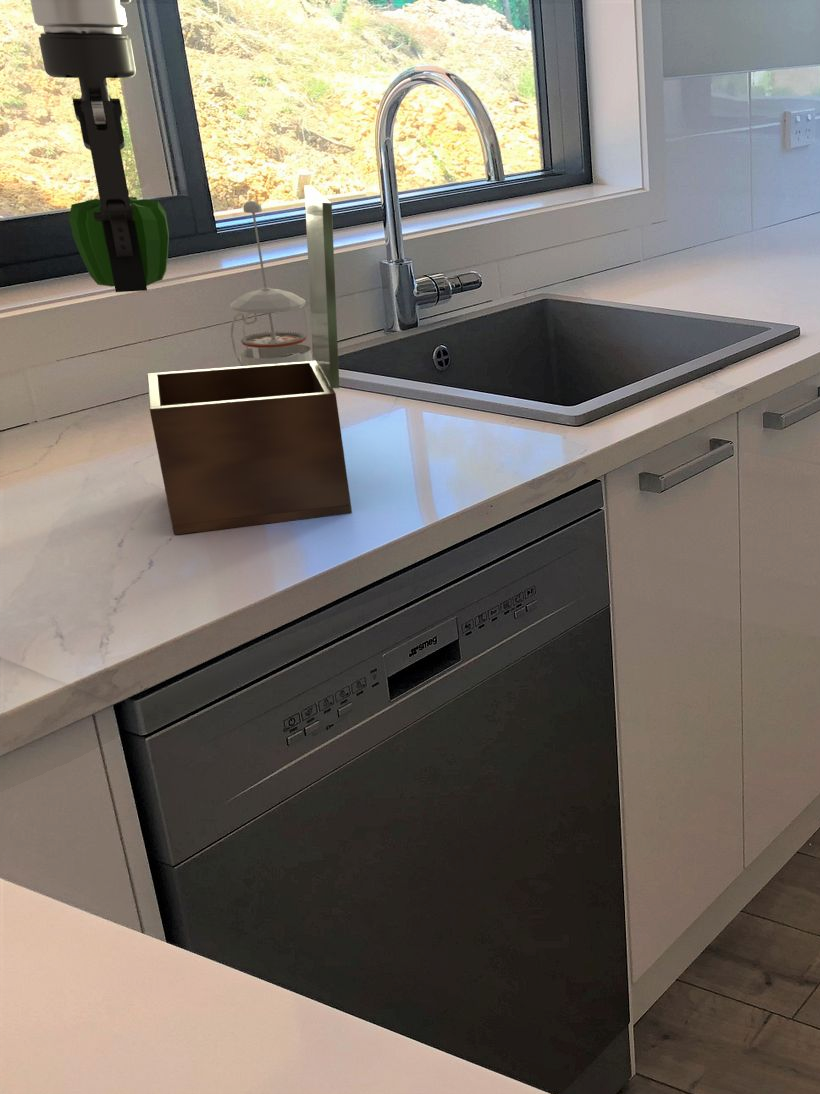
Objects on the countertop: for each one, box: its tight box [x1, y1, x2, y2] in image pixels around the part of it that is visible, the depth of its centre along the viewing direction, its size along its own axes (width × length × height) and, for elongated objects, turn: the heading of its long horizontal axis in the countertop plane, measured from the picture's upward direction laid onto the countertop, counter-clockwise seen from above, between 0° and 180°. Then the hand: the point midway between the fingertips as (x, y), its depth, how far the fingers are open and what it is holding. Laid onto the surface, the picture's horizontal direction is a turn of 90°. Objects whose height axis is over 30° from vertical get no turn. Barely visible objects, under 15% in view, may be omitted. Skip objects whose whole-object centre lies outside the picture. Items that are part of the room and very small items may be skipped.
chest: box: [146, 360, 353, 536], centre depth 136 cm, size 16×15×12 cm
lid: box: [304, 184, 340, 389], centre depth 133 cm, size 17×15×1 cm
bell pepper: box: [68, 198, 170, 288], centre depth 134 cm, size 8×8×10 cm
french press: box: [230, 200, 314, 366], centre depth 161 cm, size 10×12×25 cm
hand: (130, 283), depth 136 cm, fingers closed on bell pepper, 8 cm apart
